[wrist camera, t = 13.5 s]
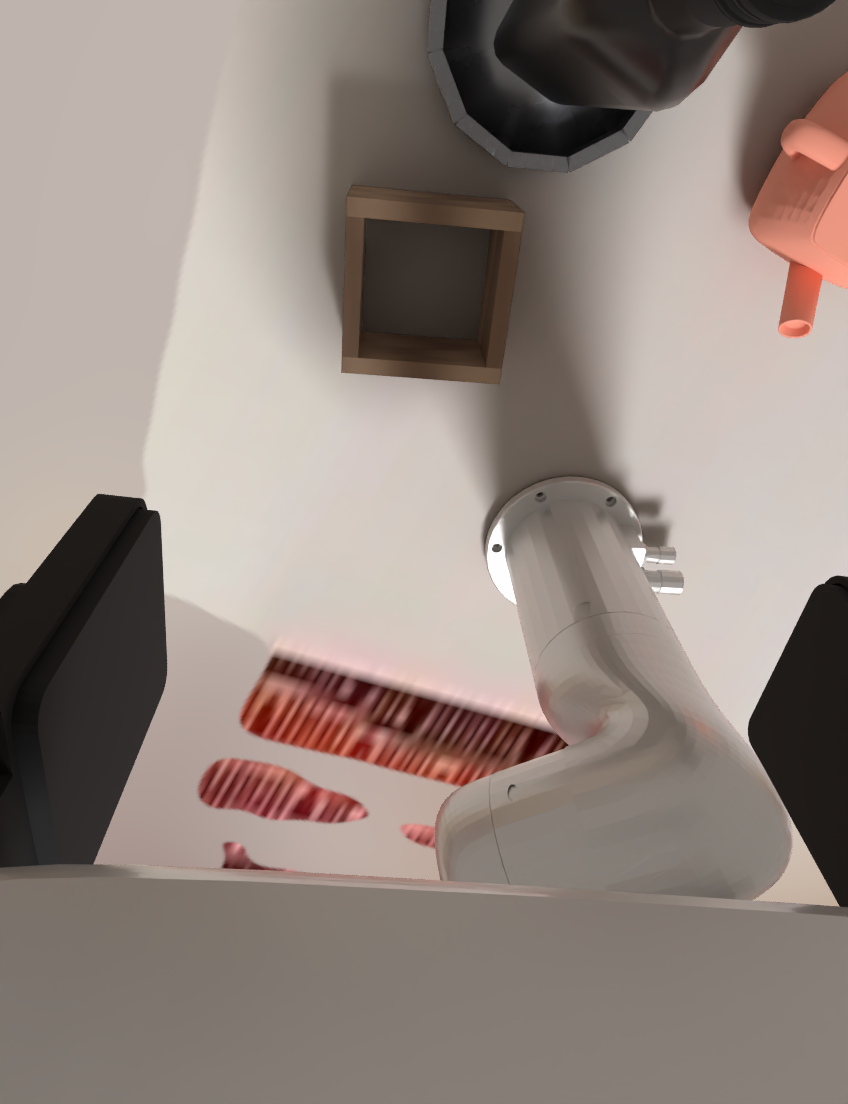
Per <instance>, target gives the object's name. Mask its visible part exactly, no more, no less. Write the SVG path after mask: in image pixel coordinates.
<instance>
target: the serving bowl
mask: <svg viewBox="0 0 848 1104" xmlns="http://www.w3.org/2000/svg"><path fill="white" fill-rule="evenodd" d="M512 2H513V0H431V3H430V11H429V30H428V44H427V53H430V54H428V55H427V56H428V59H429V61H430V64H431V67H432V69H433V72H434V74H435V77H436V80H437V84H438V87H439V90H440V92H441V94H442V96H443V99H444V101H445V103H446V106H447V108H448V111H449V113H450V116H451V119H452V121H453V123H455V124H454V125H456V126H457V127H458V128H459V129H461V130H462V131H463V132H464V133H465V134H467V135H468V136H469V137H470V138H472V139H473V140H474V141H475V142H476V143H477V144H479V145H480V146H481V147H482V148H484V149H485V150H486V151H487V152H489V153H490V154H491V155H492V156H493V157H495V158H496V159H497V160H498V161H500V162H501V163H502V164H503V165H505V166H507V167H514V168H525V169H535V170H545V171H556V172H566V173H568V171H569V172H572V171H574V170H576V169H578V168H580V167H582V166H584V165H586V164H588V163H590V162H592V161H594V160H596V159H598V158H600V157H602V156H604V155H606V154H608V153H610V152H611V151H613V150H615V149H617V148H619V147H621V146H623V145H625V144H627V143H629V142H628V140H629V141H631V140H632V139H633V137H634V136H635V135H636V133H637V132H638V131H639V129H640V128H641V127H642V125H643V124H644V123H645V121H646V120H647V118H648V117H649V116H650V114H651V113H652V112H653V111H642V110H628V109H615V108H601V107H587V106H573V105H560V104H557V103H554V102H551V101H550V100H548V99H547V98H546V97H544V96H543V95H542V94H540V93H539V92H538V91H536V90H535V89H534V88H533V87H531V86H530V85H529V84H527V83H526V82H525V81H523V80H522V79H521V78H519V77H518V76H517V75H516V74H514V73H513V72H512V71H510V70H509V69H508V68H506V67H505V66H504V65H502V63H501V62H500V61H499V59H498V58H497V57H496V55H495V50H494V44H493V42H494V39H495V35H496V31H497V29H498V27H499V25H500V24H501V22H502V20H503V18H504V16H505V14H506V13H507V11H508V9H509V7H510V5H511V3H512Z"/></svg>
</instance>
